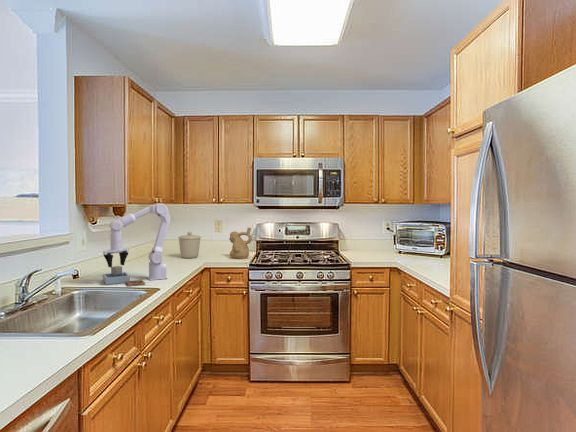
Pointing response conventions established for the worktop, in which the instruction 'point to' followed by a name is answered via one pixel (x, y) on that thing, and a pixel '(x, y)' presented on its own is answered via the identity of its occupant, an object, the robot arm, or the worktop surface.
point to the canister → (189, 245)
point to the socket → (135, 283)
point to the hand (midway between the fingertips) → (116, 266)
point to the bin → (115, 279)
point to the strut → (116, 271)
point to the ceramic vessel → (240, 244)
